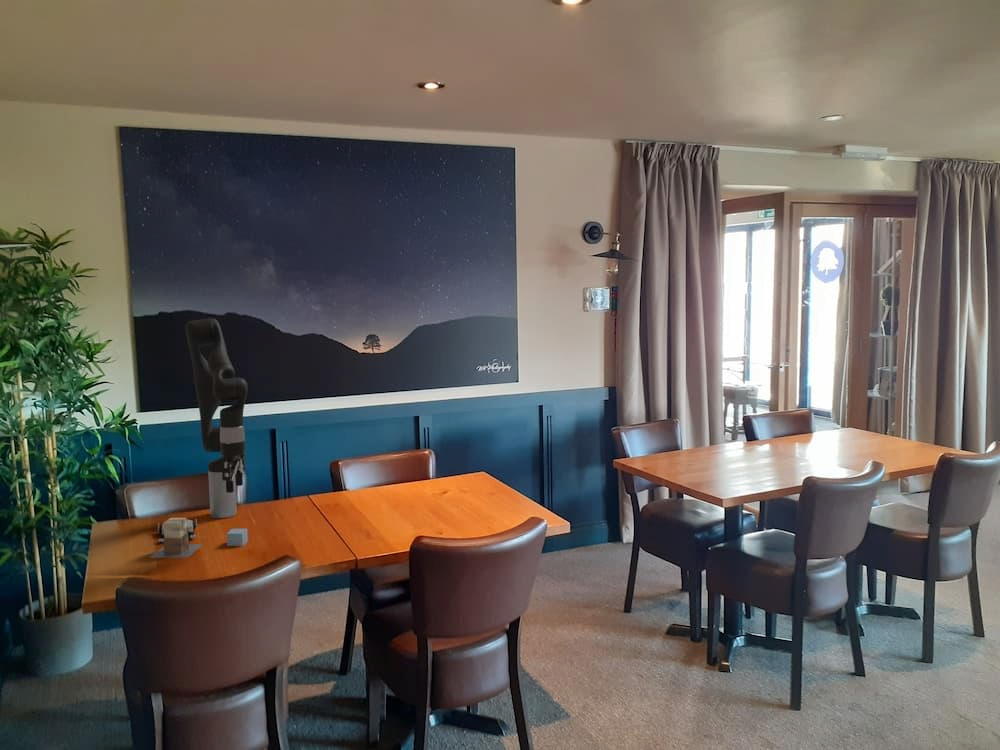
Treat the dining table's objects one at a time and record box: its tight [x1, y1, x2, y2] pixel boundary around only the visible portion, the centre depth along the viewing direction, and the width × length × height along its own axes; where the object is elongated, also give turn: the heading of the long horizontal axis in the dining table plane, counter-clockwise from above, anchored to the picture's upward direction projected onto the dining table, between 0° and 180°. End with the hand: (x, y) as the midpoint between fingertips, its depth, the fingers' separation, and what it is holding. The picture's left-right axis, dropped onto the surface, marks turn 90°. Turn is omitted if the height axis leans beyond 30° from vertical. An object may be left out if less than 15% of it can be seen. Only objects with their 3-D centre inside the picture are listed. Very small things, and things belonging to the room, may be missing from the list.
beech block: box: [163, 517, 187, 538], centre depth 237 cm, size 5×5×5 cm
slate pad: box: [148, 543, 203, 559], centre depth 238 cm, size 12×12×1 cm
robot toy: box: [157, 518, 198, 543], centre depth 252 cm, size 12×4×15 cm
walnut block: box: [162, 533, 189, 554], centre depth 237 cm, size 6×6×5 cm
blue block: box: [226, 528, 249, 549], centre depth 244 cm, size 5×5×5 cm
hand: (234, 488), depth 242 cm, fingers open, 8 cm apart
